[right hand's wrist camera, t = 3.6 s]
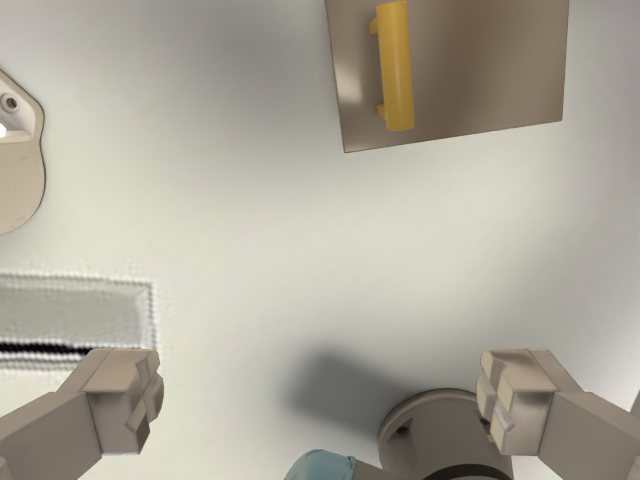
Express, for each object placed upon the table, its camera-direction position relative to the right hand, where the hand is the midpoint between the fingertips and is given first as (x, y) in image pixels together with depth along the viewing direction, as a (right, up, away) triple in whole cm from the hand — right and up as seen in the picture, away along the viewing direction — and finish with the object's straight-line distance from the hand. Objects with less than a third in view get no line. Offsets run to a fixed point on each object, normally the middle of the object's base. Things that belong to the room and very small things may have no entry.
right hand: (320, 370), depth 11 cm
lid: (+8, +15, +17) cm, 24 cm away
